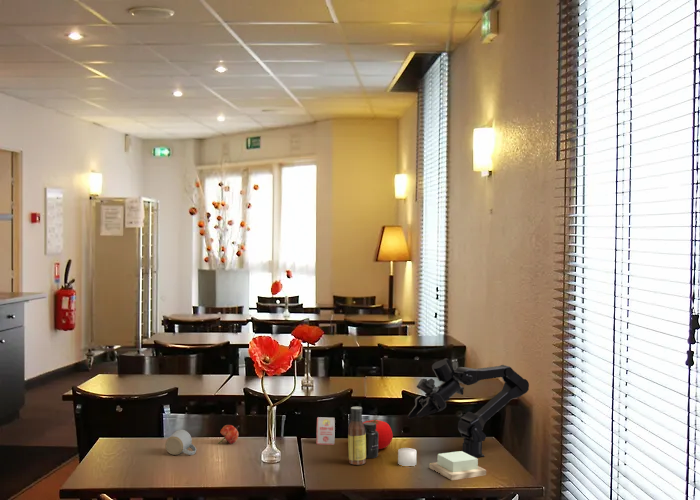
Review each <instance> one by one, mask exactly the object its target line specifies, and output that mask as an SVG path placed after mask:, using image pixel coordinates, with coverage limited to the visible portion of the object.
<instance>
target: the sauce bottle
mask: <svg viewBox="0 0 700 500" xmlns="http://www.w3.org/2000/svg"><path fill="white" fill-rule="evenodd" d="M350 413H351V417H350V418H351V420H350V422H349V425H348V427H347V428H348V432H347V433H348V434H347V439H348V443H347V445H348V447H347V448H348V449H347V450H348V461H349V464H350V465H354V466H362V465H364V464H366V463H367V462H366V459H367V458H366V432H365V427H364V425H363V422H364V421H363V417H362V416H363V407H362V406H352V407H350Z"/></svg>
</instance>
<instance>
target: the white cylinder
mask: <svg viewBox="0 0 700 500" xmlns="http://www.w3.org/2000/svg"><path fill="white" fill-rule="evenodd" d="M398 464H399V465H402V466H414V467H416V466H417V450H416V449H415V448H410V447H401V448H398V450H397V465H398ZM399 465H398V466H399ZM415 465H416V466H415ZM402 466H401V467H402Z"/></svg>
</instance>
